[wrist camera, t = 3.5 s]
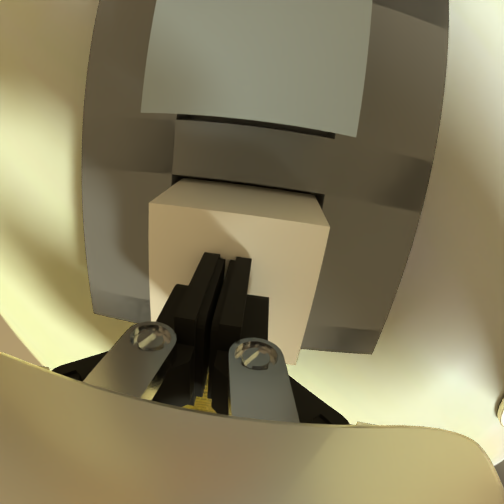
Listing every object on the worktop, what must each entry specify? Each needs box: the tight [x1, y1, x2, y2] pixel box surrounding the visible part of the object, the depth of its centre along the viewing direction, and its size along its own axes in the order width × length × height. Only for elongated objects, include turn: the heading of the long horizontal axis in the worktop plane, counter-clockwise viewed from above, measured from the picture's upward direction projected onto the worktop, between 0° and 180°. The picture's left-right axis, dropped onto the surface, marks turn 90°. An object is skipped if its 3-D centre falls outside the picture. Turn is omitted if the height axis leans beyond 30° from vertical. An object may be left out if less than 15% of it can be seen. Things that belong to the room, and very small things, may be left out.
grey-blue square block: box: [141, 0, 372, 137], centre depth 9 cm, size 6×6×4 cm
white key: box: [148, 178, 330, 365], centre depth 13 cm, size 6×6×4 cm
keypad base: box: [82, 0, 449, 354], centre depth 12 cm, size 16×28×3 cm, turn 173°
